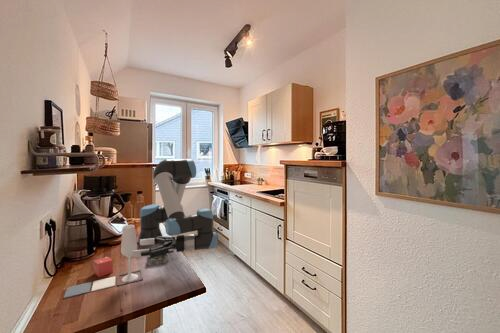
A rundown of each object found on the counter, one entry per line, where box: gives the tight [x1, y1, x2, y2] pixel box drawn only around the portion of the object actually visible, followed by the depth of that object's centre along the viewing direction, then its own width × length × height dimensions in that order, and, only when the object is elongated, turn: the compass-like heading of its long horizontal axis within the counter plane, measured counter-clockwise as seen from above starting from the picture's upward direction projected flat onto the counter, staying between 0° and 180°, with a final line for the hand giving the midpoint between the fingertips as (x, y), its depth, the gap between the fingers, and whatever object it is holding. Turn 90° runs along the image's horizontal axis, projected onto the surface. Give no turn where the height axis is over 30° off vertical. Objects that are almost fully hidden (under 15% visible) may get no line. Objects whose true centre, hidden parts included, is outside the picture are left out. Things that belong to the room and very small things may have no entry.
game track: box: [62, 269, 144, 300], centre depth 98 cm, size 28×10×1 cm, turn 119°
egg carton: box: [146, 253, 169, 266], centre depth 119 cm, size 11×8×4 cm
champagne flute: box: [120, 224, 139, 283], centre depth 102 cm, size 7×7×24 cm
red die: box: [93, 256, 114, 278], centre depth 108 cm, size 6×6×7 cm
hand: (136, 247), depth 102 cm, fingers open, 13 cm apart
